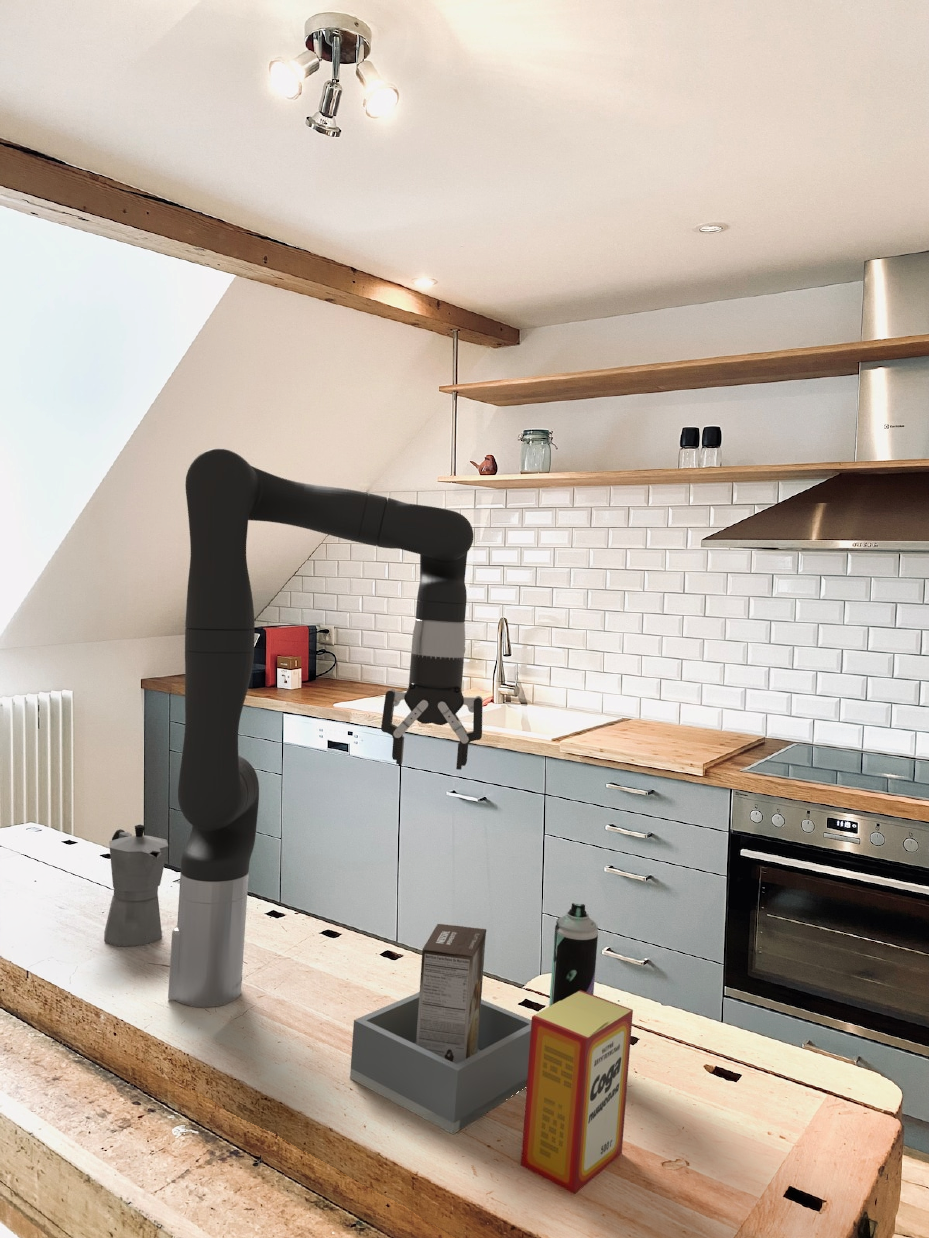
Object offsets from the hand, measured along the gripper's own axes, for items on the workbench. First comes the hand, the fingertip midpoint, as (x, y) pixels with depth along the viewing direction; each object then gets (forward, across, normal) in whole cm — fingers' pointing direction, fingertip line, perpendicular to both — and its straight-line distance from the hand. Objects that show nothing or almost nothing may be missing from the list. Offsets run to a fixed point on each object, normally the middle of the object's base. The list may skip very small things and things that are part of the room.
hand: (429, 766), depth 134 cm
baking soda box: (+34, +20, -35) cm, 53 cm away
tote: (+33, +6, -22) cm, 40 cm away
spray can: (+34, +21, -14) cm, 42 cm away
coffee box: (+32, +6, -22) cm, 39 cm away
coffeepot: (+34, -47, +14) cm, 60 cm away
